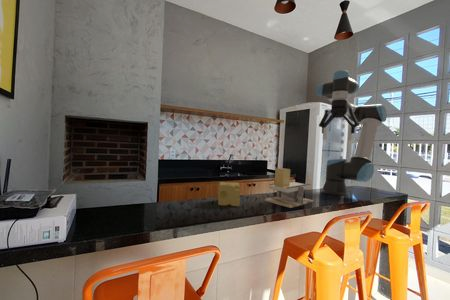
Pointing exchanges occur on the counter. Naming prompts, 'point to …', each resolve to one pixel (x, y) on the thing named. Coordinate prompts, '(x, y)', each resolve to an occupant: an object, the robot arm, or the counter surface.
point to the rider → (282, 177)
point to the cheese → (228, 193)
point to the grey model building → (291, 188)
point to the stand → (290, 198)
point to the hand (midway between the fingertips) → (337, 139)
